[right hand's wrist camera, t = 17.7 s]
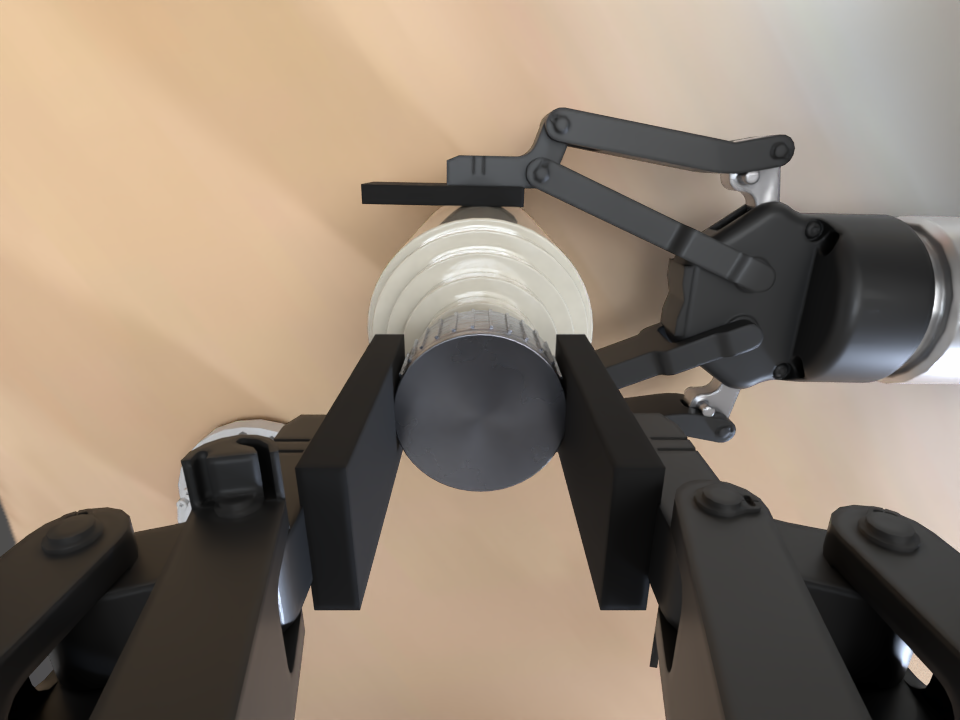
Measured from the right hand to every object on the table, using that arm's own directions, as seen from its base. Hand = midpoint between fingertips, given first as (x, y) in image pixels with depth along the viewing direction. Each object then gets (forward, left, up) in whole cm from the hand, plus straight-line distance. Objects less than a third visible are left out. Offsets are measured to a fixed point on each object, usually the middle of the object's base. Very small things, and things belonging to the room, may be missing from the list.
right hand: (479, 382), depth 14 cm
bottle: (0, 0, -17) cm, 17 cm away
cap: (0, 0, +2) cm, 2 cm away
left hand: (-5, +1, -11) cm, 12 cm away
